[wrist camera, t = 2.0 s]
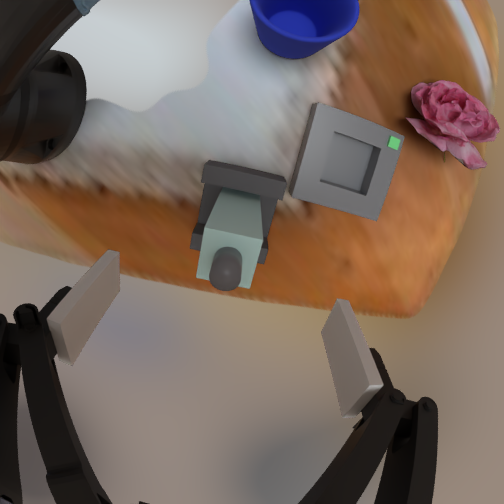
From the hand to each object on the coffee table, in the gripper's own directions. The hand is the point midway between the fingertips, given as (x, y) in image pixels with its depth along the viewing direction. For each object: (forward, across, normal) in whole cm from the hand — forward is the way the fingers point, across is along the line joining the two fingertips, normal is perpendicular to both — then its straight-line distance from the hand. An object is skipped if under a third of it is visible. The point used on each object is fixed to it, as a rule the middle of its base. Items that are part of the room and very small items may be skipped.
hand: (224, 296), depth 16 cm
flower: (+17, +20, +18) cm, 32 cm away
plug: (+16, 0, 0) cm, 16 cm away
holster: (+17, 0, 0) cm, 17 cm away
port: (+17, +10, +8) cm, 21 cm away
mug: (+17, +2, +22) cm, 28 cm away
